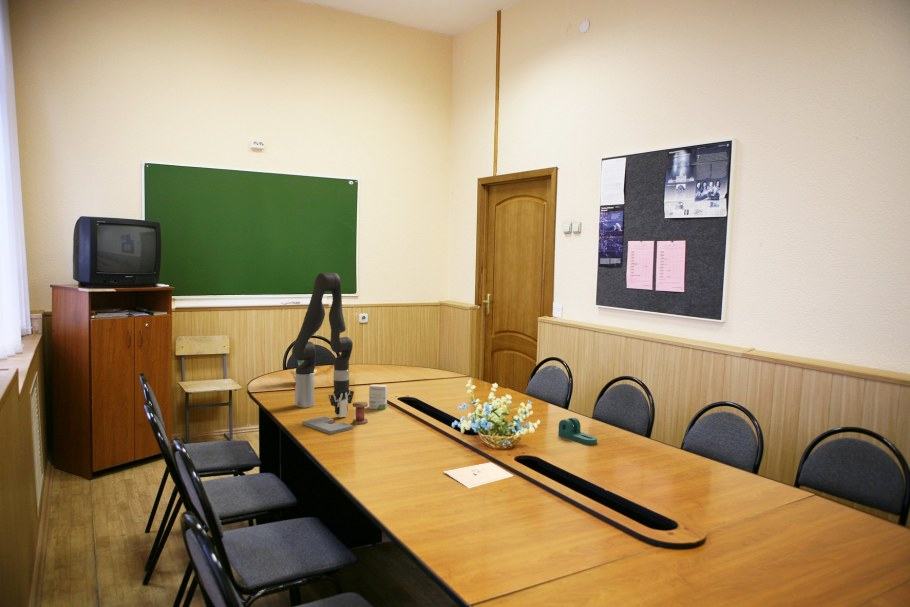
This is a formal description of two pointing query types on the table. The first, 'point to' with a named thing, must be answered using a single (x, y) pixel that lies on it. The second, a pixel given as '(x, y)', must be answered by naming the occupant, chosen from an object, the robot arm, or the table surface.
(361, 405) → the spool
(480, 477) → the paper sheet
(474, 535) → the table surface
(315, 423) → the notched board
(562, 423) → the bracket
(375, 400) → the ink box
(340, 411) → the block
